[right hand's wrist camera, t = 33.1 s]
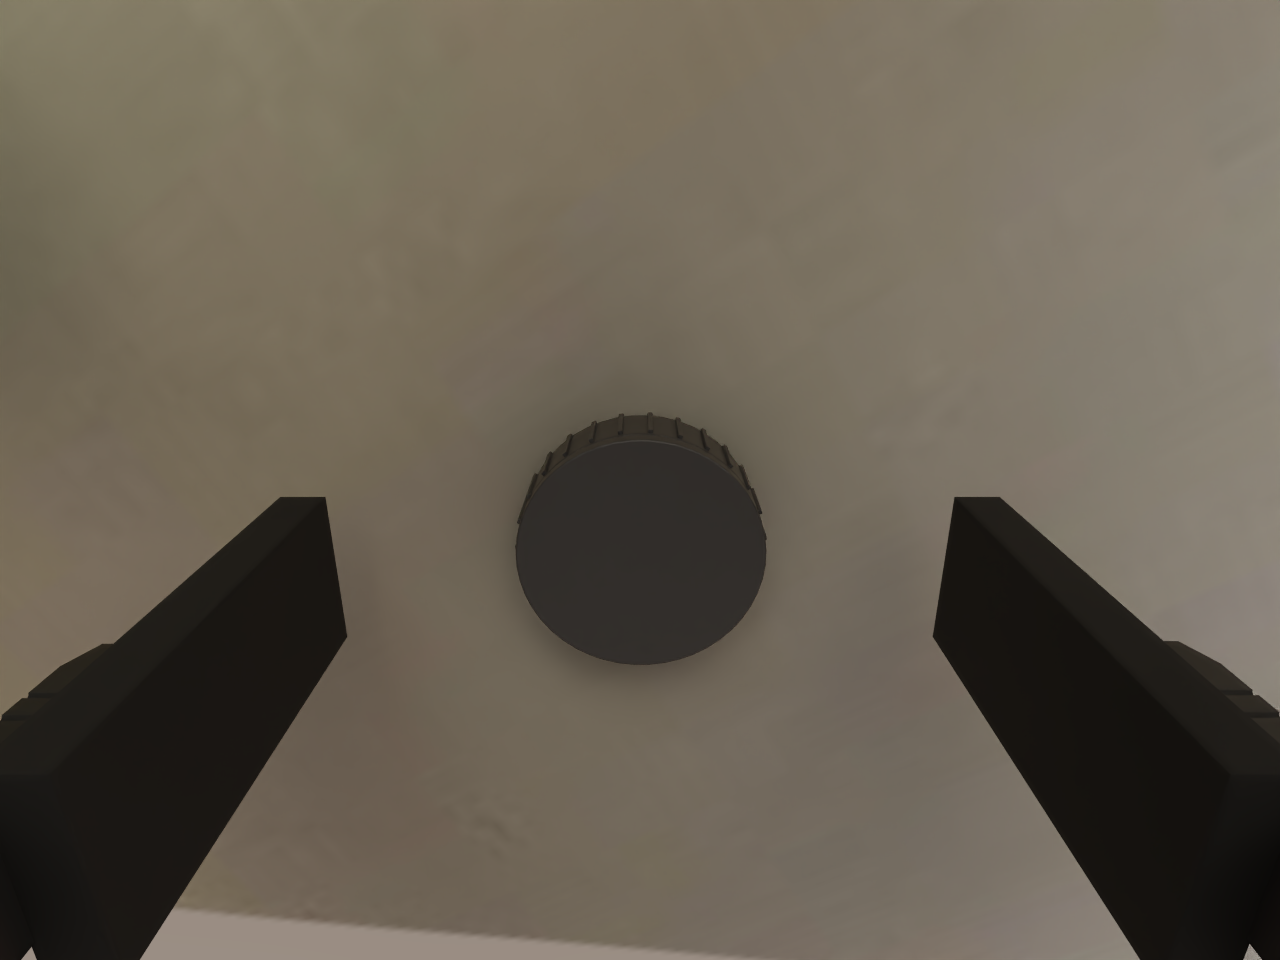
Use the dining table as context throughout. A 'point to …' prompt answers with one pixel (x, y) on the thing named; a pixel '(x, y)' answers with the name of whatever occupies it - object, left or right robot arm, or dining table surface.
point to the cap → (640, 541)
